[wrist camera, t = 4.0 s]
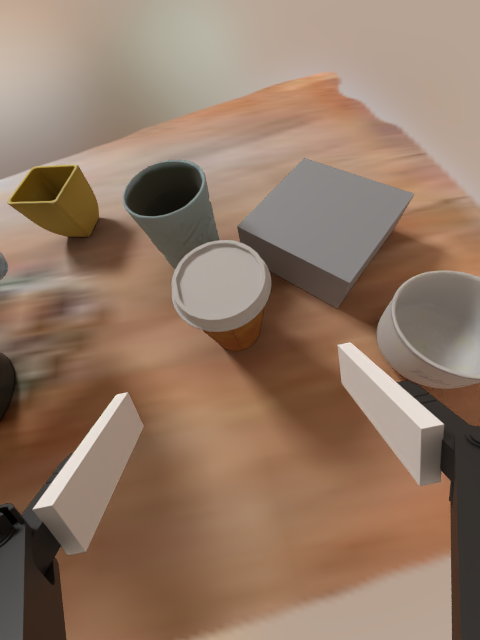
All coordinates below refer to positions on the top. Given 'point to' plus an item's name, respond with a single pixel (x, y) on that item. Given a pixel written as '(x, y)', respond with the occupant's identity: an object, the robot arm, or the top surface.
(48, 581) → the robot arm
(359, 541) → the top surface
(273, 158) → the top surface
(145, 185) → the grey-green cup
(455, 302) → the teacup
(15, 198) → the flower pot
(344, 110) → the top surface
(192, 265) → the disposable coffee cup
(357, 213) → the riser block
